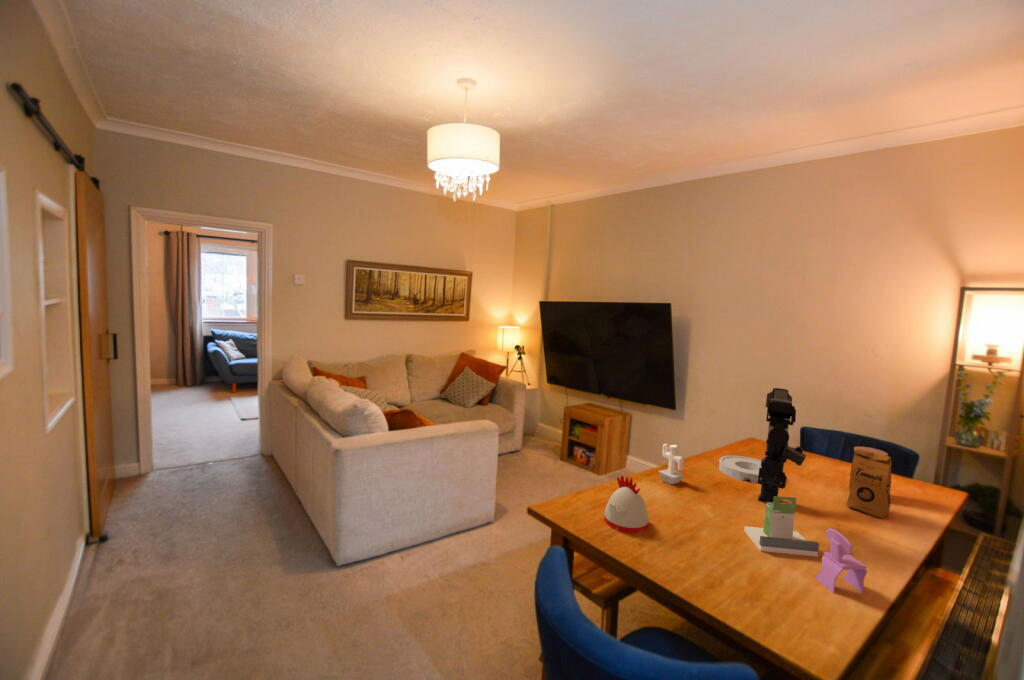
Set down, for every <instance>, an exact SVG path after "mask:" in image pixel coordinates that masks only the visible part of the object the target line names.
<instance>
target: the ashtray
mask: <svg viewBox="0 0 1024 680" xmlns="http://www.w3.org/2000/svg"><path fill="white" fill-rule="evenodd" d="M761 460H762V459H758V458H755V457H749V456H742V455H724V456H721V457H720V458H719V459H718V462H719V464H718V465H719V466H718V470H719V471H720V473H723V475H726V476H727V477H730V478H732V479H734V480H738V481H743V482H744V481H745V482H746V481H750V483H752V484H758V474H759V467H760V468H761ZM761 479H762V478H761Z"/></svg>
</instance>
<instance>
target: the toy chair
mask: <svg viewBox="0 0 1024 680" xmlns="http://www.w3.org/2000/svg"><path fill="white" fill-rule="evenodd" d="M825 535H826V538H827V540H828V541H829V543H830V552H829V551H823V555H822V558H821V569H820V572H819V573H818V574H817V575H816V577H815V580H817V581H818V582H819V583H820V584H821V585H823V586H824V587H825V588H826V589H827V590H828V591H829V592H831V593H832V594H835V592H836V590H835V588H836V580H837V578H838V577H839V575H840V574H842V572H843V571H846V570H847V572H846V574H845V575H844V577H842V579H843V580H844V581H845V582H847V583H848V584H849V585H851V587H853V588H855V589H856V590H858V592H859V593H861V594H864V592H865V591H864V587H865V586H864V585H865V584H864V582H865V578H866V575H867V573H868V570H867V565H865V564H864V563H862V562H860V561H859V560H858V559H856V558H855V557H854V556H852V555H851V554H852V553H853V545H852V543H851V541H850V540H849V539H847V537H845V536H844V535H843V534H842V533H841V532H839V531H838V530H836V529H834V528H830V527H829V528H827V529H826V532H825Z"/></svg>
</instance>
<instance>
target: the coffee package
mask: <svg viewBox="0 0 1024 680" xmlns="http://www.w3.org/2000/svg"><path fill="white" fill-rule="evenodd" d="M854 453H855V455H854V459H853V458H852V459H853V464H852V463H851V467H852V469H851V468H850V474H849V475H850V476H849V483H850V484H848V491H849V493H848V497H847V501H846V507H849V508H852V509H855V510H857V511H859V512H862V513H865V514H867V515H870V516H873V517H875V518H879V519H882V520H884V518H886V517H889V515H890V509H891V501H892V498H891V487H892V486H891V485H892V457H891V456H889V455H888V456H884V455H880V454H876V453H872V452H868V451H864V450H860V449H855V451H854ZM849 485H850V486H849Z"/></svg>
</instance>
